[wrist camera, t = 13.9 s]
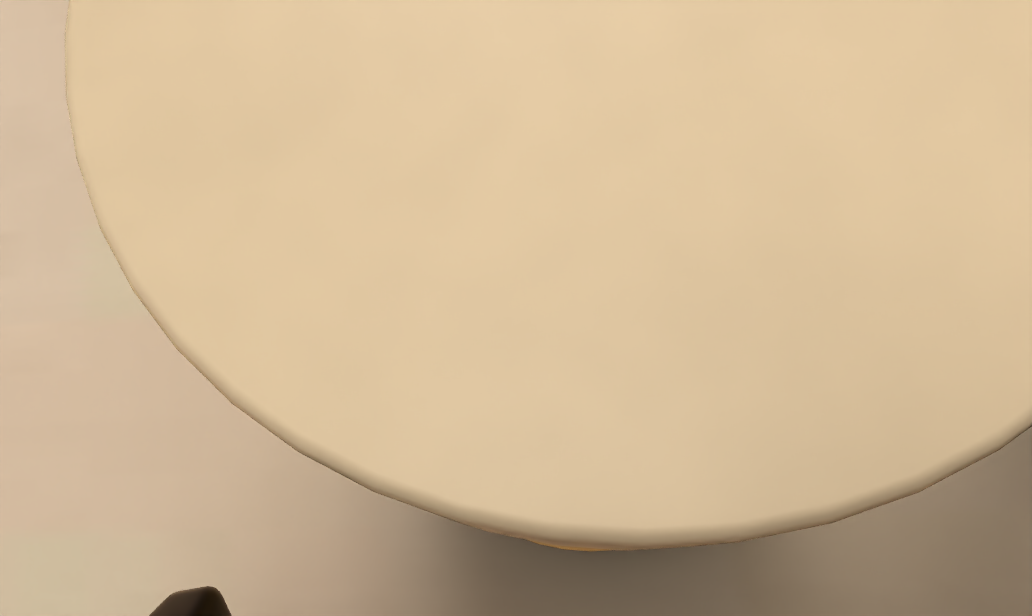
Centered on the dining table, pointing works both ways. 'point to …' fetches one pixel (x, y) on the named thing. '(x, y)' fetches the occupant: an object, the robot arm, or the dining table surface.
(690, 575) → the dining table surface
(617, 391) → the cheese shaker
